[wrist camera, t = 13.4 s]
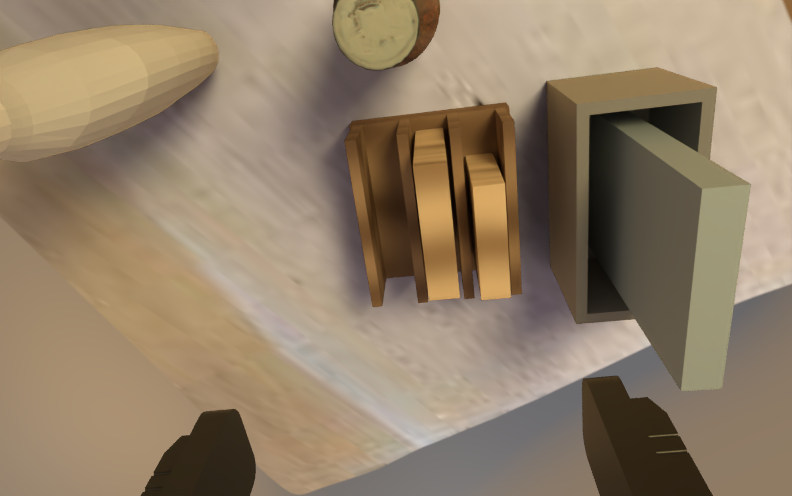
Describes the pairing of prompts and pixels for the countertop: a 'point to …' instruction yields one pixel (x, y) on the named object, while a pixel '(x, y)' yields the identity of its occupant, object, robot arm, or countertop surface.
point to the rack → (396, 193)
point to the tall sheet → (668, 241)
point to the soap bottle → (94, 84)
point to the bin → (570, 167)
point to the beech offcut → (488, 225)
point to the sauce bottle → (384, 30)
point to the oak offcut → (435, 214)
